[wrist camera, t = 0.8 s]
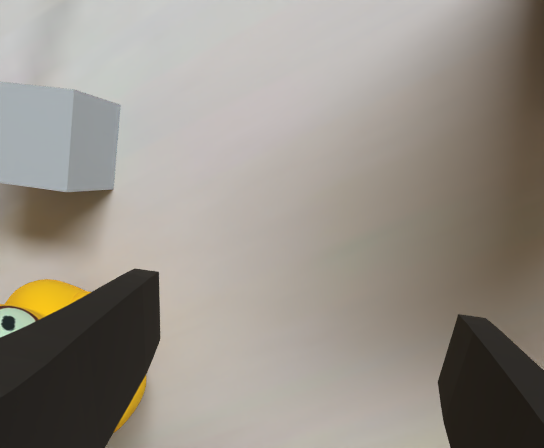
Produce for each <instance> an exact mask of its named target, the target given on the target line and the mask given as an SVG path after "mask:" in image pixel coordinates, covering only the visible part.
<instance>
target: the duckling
mask: <svg viewBox="0 0 544 448" xmlns="http://www.w3.org/2000/svg"><path fill="white" fill-rule="evenodd" d="M89 293H91V292H87V291H85V290H83V289H80V288H78V287H76V286H73V285H70V284H67V283H64V282H61V281H57V280H49V279H45V280H37V281H33V282H30V283H28V284H26V285H24V286H22V287H20V288H19V289H17V290H16V291H15V292H14V293H13V294H12V295H11V296H10V297H9V299H8V300H7V302H6V303H5V304H0V337H2V336H5V335H7V334H9V333H12V332H14V331H16V330H19V329H21V328H23V327H25V326H27V325H29V324H31V323H33V322H35V321H37V320H39V319H41V318H43V317H45V316H47V315H49V314H51V313H53V312H55V311H57V310H59V309H61V308H63V307H65V306H67V305H69V304H71V303H73V302H75V301H76V300H78V299H80V298H82V297H84V296H86V295H87V294H89ZM145 387H146V376H145V377H144V379H143V381H142V383H141V385H140V386H139V388H138V390H137V392H136V394H135V395H134V397H133V399H132V401H131V403H130V404H129V406H128V408H127V410H126V411H125V413H124V415H123V417H122V418H121V420H120V422H119V424H118V425H117V427H116V429H115V431H114V432H116V431H117V430H118V429H119V428H120V427H121V426H122V425H123V424H124V423H125V422H126V421H127V420H128V419H129V417H130V416H131V415H132V413H133V412H134V411H135V409H136V407H137V406H138V404H139V403H140V401H141V399H142V396H143V394H144V391H145ZM114 432H113V433H114Z"/></svg>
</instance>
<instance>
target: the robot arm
mask: <svg viewBox="0 0 544 448" xmlns="http://www.w3.org/2000/svg"><path fill="white" fill-rule="evenodd" d="M159 341H160V306H159V272H155V271H148V270H141V269H133V270H131V271H129V272H127V273H125V274H123V275H121V276H119V277H118V278H116V279H114V280H112V281H111V282H109V283H107V284H105V285H103V286H102V287H100V288H98V289H96V290H95V291H93V292H91V293H89V294H87V295H86V296H84V297H82V298H80V299H78V300H76V301H75V302H73V303H71V304H69V305H67V306H65V307H63V308H61V309H59V310H57V311H55V312H53V313H51V314H49V315H47V316H45V317H43V318H41V319H39V320H37V321H35V322H33V323H31V324H29V325H27V326H25V327H23V328H21V329H19V330H16V331H14V332H12V333H9V334H7V335H5V336H2V337H0V448H105V446H106V445H107V443H108V441H109V439H110V438H111V436H112V434H113V432H114V431H115V429H116V427H117V425H118V424H119V422H120V420H121V418H122V417H123V415H124V413H125V411H126V410H127V408H128V406H129V404H130V403H131V401H132V399H133V397H134V395H135V394H136V392H137V390H138V388H139V386H140V385H141V383H142V381H143V379H144V377H145V376H146V373H147V371H148V369H149V366H150V364H151V361H152V359H153V357H154V354H155V351H156V349H157V346H158V344H159ZM438 386H439V394H440V402H441V408H442V415H443V421H444V425H445V429H446V433H447V436H448V440H449V443H450V447H451V448H544V370H543V369H542V368H540V367H539V366H538V365H537V364H536V363H535V362H534V361H533V360H532V359H531V358H529V357H528V356H527V355H526V354H525V353H524V352H523V351H522V350H521V349H520V348H519V347H518V346H516V345H515V344H514V343H513V342H512V341H511V340H510V339H509V338H508V337H507V336H506V335H504V334H503V333H502V332H501V331H500V330H499V329H498V328H497V327H496V326H494V325H493V324H492V323H491V322H490V321H488V320H487V319H486V318H481V317H474V316H466V315H459V314H458V317H457V321H456V324H455V327H454V331H453V334H452V337H451V340H450V344H449V347H448V350H447V354H446V357H445V360H444V363H443V367H442V370H441V373H440V377H439V380H438Z"/></svg>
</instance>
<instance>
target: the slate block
mask: <svg viewBox="0 0 544 448" xmlns="http://www.w3.org/2000/svg"><path fill="white" fill-rule="evenodd" d="M119 116H120V105H119V104H116V103H113V102H110V101H107V100H104V99H101V98H98V97H95V96H92V95H89V94H86V93H83V92H80V91H77V90H73V89H64V88H55V87H46V86H37V85H27V84H18V83H9V82H0V183H4V184H11V185H19V186H26V187H33V188H40V189H48V190H55V191H62V192H78V191H94V190H111V189H114V177H115V165H116V153H117V141H118V128H119Z"/></svg>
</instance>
